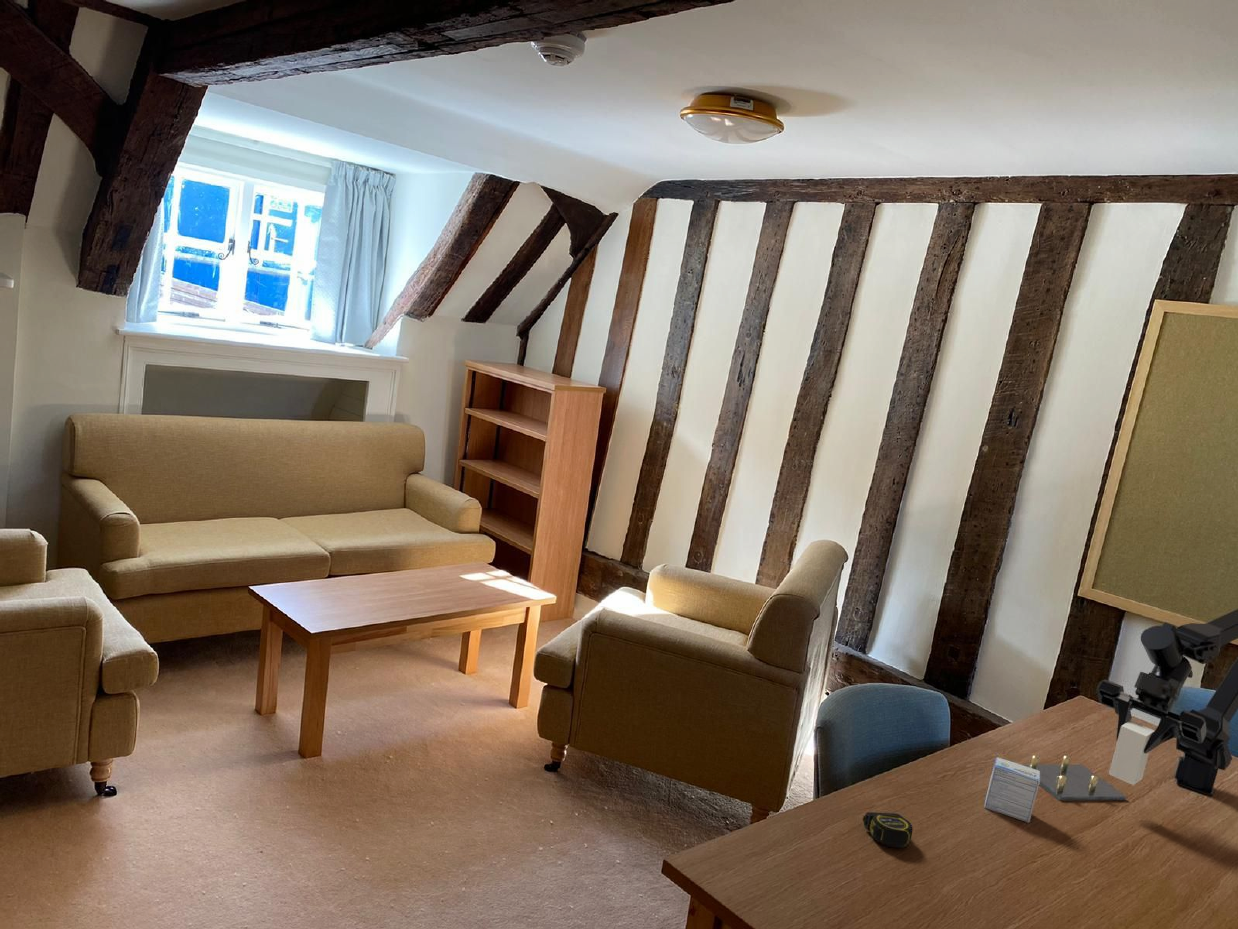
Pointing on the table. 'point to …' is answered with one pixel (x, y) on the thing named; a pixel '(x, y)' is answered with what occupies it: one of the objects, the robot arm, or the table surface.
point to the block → (1130, 753)
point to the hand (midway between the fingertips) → (1130, 746)
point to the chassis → (1074, 782)
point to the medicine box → (1012, 789)
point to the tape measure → (888, 828)
